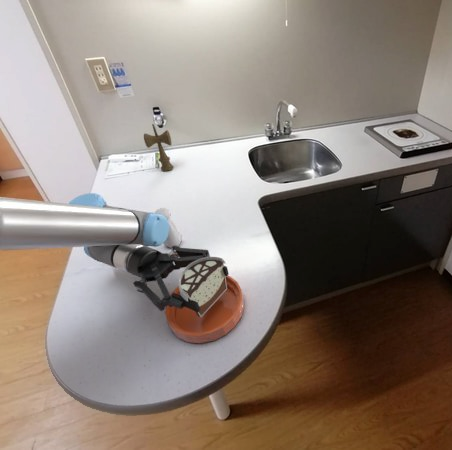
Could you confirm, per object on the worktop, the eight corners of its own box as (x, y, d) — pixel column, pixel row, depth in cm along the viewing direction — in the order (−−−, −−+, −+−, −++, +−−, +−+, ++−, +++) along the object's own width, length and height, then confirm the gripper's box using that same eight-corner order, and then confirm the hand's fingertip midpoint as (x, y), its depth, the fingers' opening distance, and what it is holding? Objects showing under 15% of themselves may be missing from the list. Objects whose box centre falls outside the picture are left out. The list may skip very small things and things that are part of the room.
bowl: (216, 356, 68) (212, 347, 65) (153, 327, 74) (148, 318, 71) (257, 294, 81) (255, 285, 78) (201, 274, 86) (197, 264, 84)
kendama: (179, 170, 131) (165, 125, 118) (155, 174, 129) (138, 128, 116) (179, 164, 136) (166, 119, 123) (156, 167, 133) (140, 122, 121)
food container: (212, 275, 80) (204, 248, 73) (231, 284, 77) (224, 257, 71) (176, 311, 71) (163, 284, 65) (196, 322, 69) (185, 295, 63)
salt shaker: (178, 234, 99) (167, 202, 91) (186, 244, 96) (175, 211, 88) (161, 243, 96) (147, 210, 88) (168, 252, 93) (154, 219, 85)
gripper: (174, 242, 86) (242, 265, 79) (107, 304, 70) (184, 340, 63) (167, 221, 81) (238, 244, 74) (92, 284, 66) (173, 320, 59)
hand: (213, 288), depth 69 cm, fingers closed on food container, 10 cm apart
